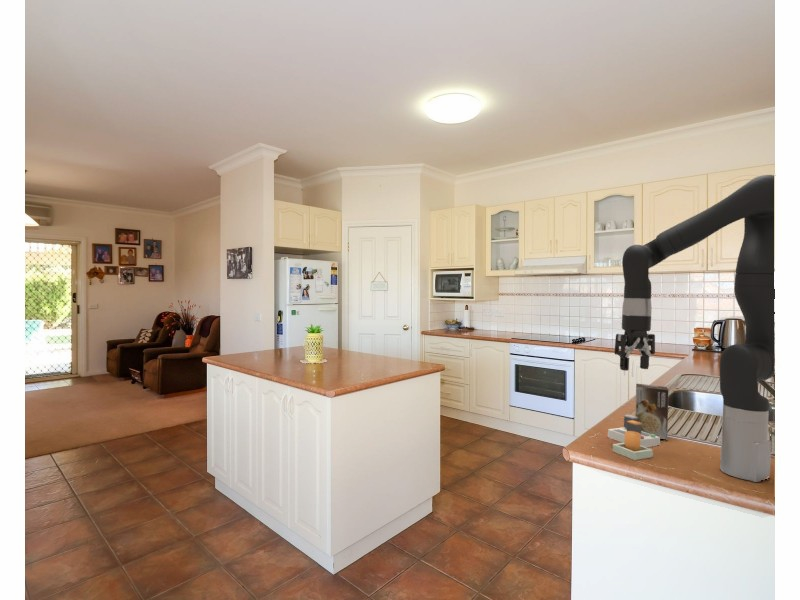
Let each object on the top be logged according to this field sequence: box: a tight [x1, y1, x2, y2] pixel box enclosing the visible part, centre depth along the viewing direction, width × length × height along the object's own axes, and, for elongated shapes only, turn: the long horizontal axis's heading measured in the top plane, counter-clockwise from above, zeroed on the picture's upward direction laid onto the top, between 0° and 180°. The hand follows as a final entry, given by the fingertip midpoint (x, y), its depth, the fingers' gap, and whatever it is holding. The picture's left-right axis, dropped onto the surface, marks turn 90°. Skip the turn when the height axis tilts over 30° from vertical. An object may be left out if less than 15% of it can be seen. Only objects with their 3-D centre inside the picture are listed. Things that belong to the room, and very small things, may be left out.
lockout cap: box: [624, 431, 641, 452], centre depth 126 cm, size 4×4×6 cm
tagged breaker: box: [627, 420, 642, 434], centre depth 135 cm, size 3×2×4 cm
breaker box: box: [607, 426, 661, 448], centre depth 138 cm, size 11×9×3 cm
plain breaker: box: [623, 414, 638, 428], centre depth 141 cm, size 3×2×4 cm
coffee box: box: [634, 383, 669, 441], centre depth 144 cm, size 9×6×16 cm
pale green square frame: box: [612, 442, 654, 461], centre depth 126 cm, size 7×7×2 cm
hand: (634, 369), depth 130 cm, fingers open, 8 cm apart
